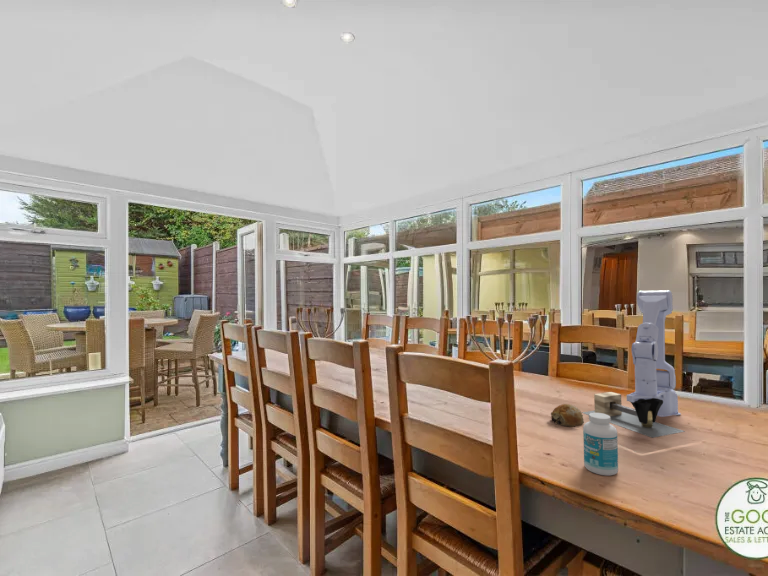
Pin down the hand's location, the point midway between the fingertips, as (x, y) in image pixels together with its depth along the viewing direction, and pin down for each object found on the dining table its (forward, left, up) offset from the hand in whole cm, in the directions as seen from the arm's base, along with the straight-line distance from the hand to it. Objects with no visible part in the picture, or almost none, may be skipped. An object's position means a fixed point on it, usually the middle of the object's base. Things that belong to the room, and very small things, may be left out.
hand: (647, 422), depth 121 cm
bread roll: (+18, -14, -3) cm, 23 cm away
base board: (0, -6, -2) cm, 7 cm away
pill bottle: (+37, +16, -2) cm, 40 cm away
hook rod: (0, -7, -1) cm, 7 cm away
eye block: (0, -14, -2) cm, 14 cm away
